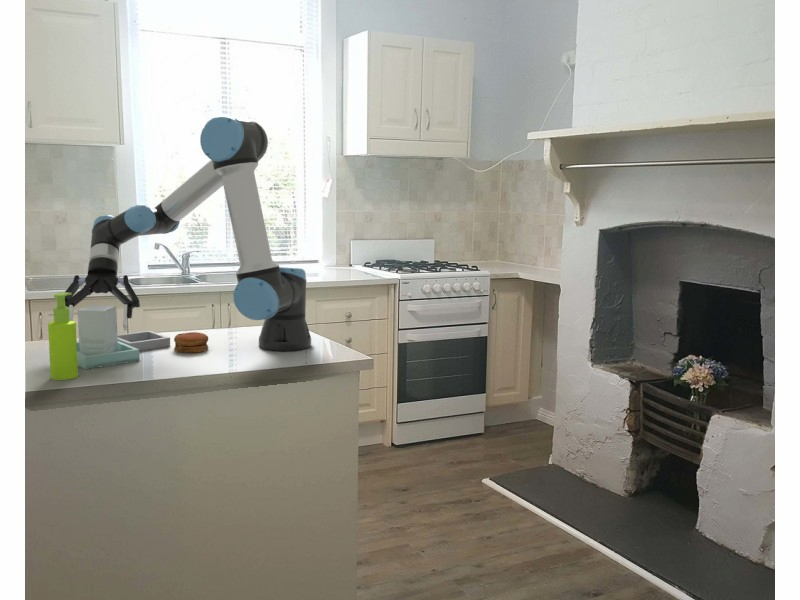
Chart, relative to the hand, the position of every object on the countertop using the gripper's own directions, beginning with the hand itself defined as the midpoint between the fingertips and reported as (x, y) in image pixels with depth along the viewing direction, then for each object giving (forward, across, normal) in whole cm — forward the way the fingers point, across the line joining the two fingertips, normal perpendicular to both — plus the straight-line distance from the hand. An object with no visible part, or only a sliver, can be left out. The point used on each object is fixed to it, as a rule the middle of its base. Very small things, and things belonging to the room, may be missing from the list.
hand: (97, 328), depth 189 cm
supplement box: (+6, 0, -4) cm, 7 cm away
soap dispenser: (+18, +5, +7) cm, 20 cm away
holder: (-3, -9, -14) cm, 18 cm away
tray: (+6, 0, -5) cm, 8 cm away
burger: (+2, -23, -10) cm, 25 cm away
